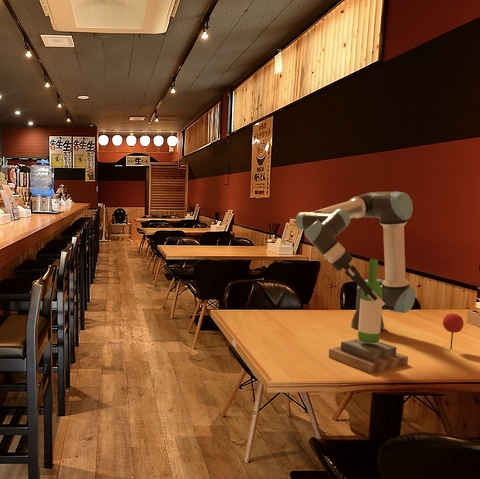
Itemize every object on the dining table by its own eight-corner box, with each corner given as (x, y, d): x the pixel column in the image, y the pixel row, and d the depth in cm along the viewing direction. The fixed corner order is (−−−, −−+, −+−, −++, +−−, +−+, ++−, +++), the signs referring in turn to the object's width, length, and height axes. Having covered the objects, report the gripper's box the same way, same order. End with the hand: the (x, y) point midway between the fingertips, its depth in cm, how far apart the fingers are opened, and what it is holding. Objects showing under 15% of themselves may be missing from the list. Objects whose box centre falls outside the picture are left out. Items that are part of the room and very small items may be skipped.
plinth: (364, 349, 185) (365, 334, 185) (407, 364, 169) (408, 348, 169) (328, 356, 174) (329, 340, 174) (371, 373, 158) (372, 356, 157)
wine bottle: (368, 344, 166) (373, 261, 164) (353, 338, 173) (358, 258, 171) (384, 342, 169) (389, 261, 167) (369, 336, 176) (374, 258, 174)
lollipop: (460, 353, 185) (463, 316, 184) (439, 350, 189) (442, 313, 188) (462, 349, 192) (464, 313, 191) (441, 345, 195) (444, 310, 194)
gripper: (330, 260, 182) (370, 304, 180) (330, 267, 162) (375, 316, 160) (345, 248, 181) (385, 292, 179) (347, 252, 161) (392, 302, 159)
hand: (380, 303), depth 169 cm, fingers closed on wine bottle, 7 cm apart
